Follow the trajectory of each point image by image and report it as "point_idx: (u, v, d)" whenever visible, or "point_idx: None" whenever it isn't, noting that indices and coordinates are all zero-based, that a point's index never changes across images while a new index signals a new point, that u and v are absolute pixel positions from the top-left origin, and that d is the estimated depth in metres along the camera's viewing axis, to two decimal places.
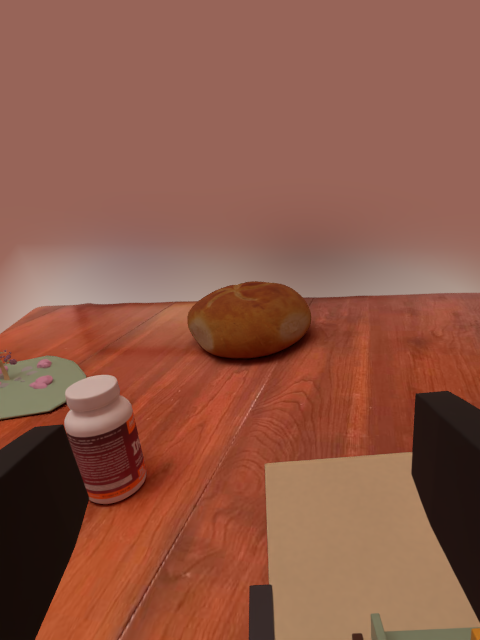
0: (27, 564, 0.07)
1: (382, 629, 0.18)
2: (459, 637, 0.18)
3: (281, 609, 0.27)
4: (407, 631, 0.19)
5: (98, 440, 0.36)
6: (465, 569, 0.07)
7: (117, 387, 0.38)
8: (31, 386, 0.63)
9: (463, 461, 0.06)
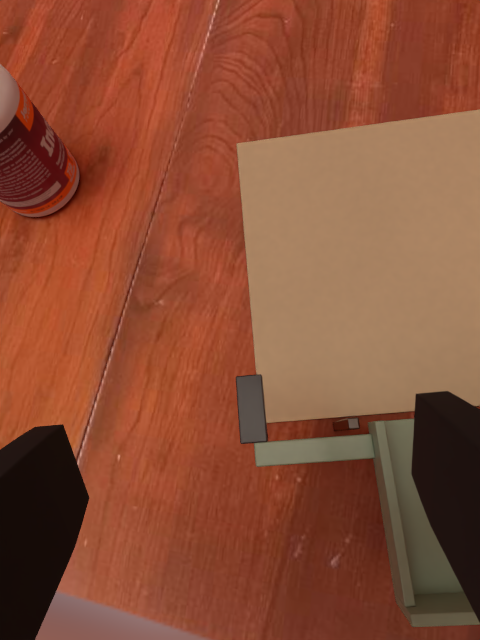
0: (27, 564, 0.07)
1: (386, 438, 0.16)
2: None
3: (264, 336, 0.26)
4: (407, 420, 0.18)
5: None
6: (465, 570, 0.07)
7: None
8: None
9: (463, 461, 0.06)
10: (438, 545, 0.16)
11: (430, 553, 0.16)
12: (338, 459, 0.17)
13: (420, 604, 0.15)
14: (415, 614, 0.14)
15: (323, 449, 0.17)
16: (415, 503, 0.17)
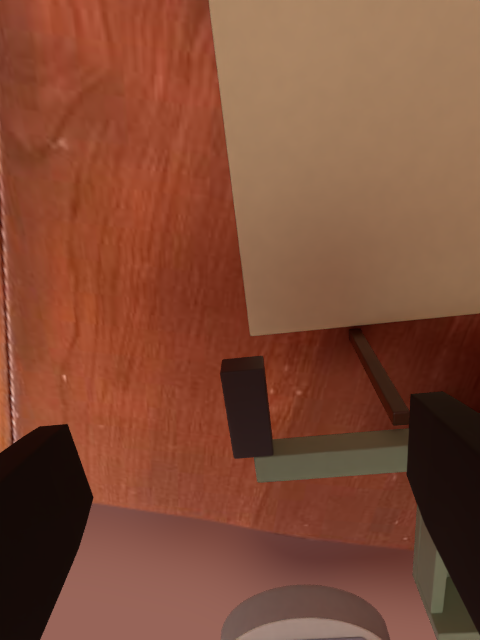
0: (32, 564, 0.07)
1: None
2: None
3: (254, 210, 0.15)
4: None
5: None
6: (459, 570, 0.07)
7: None
8: None
9: (456, 462, 0.06)
10: None
11: None
12: (374, 472, 0.12)
13: (447, 608, 0.13)
14: (444, 633, 0.13)
15: (354, 463, 0.12)
16: None
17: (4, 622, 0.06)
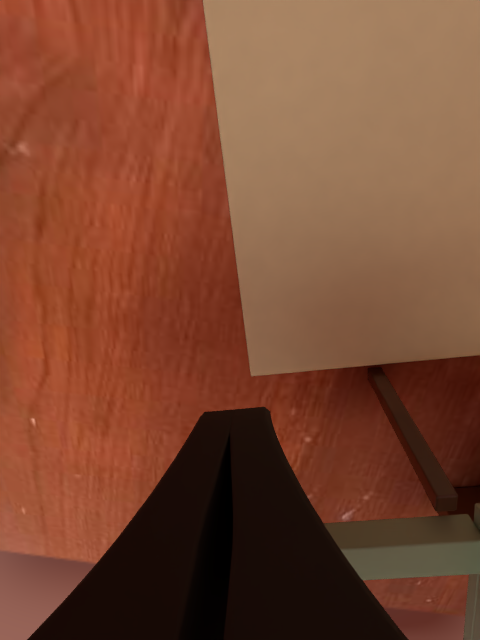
0: None
1: None
2: None
3: (255, 229, 0.13)
4: None
5: None
6: None
7: None
8: None
9: None
10: None
11: None
12: (413, 576, 0.09)
13: None
14: None
15: (386, 563, 0.09)
16: None
17: None
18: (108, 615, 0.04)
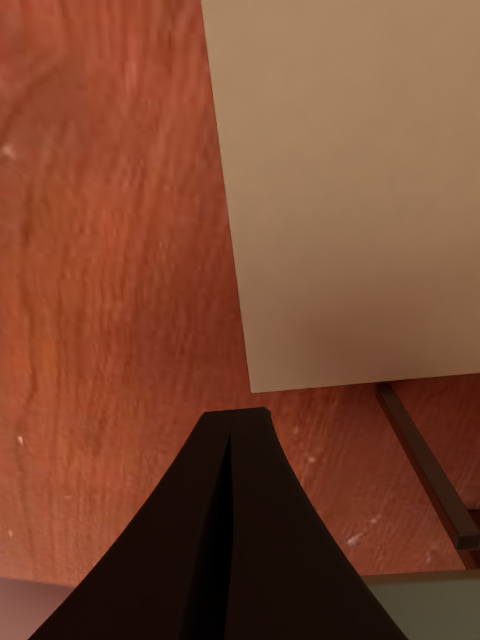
0: None
1: None
2: None
3: (256, 237, 0.12)
4: None
5: None
6: None
7: None
8: None
9: None
10: None
11: None
12: None
13: None
14: None
15: (412, 613, 0.08)
16: None
17: None
18: (108, 615, 0.04)
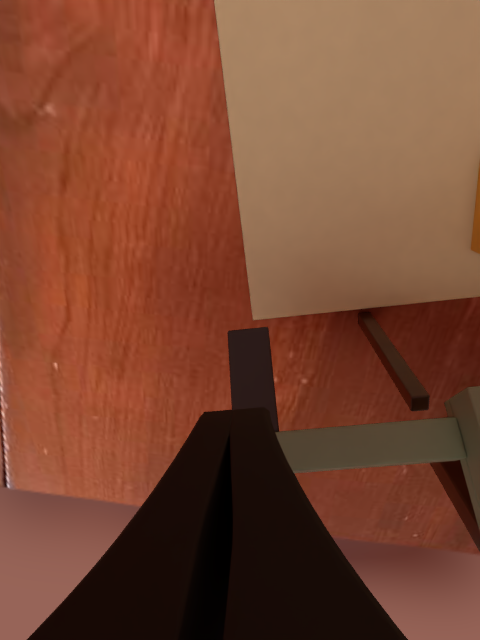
0: None
1: None
2: None
3: (257, 182, 0.14)
4: None
5: None
6: None
7: None
8: None
9: None
10: None
11: None
12: (402, 460, 0.10)
13: None
14: None
15: (374, 443, 0.10)
16: None
17: None
18: (108, 615, 0.04)
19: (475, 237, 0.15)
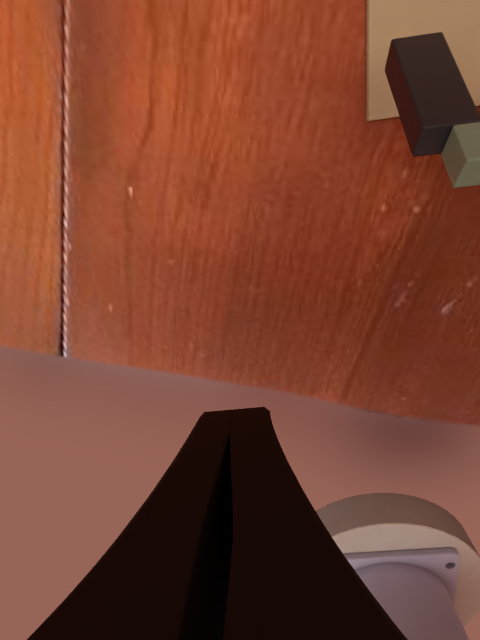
0: None
1: None
2: None
3: None
4: None
5: None
6: None
7: None
8: None
9: None
10: None
11: None
12: None
13: None
14: None
15: None
16: None
17: None
18: (108, 615, 0.04)
19: None
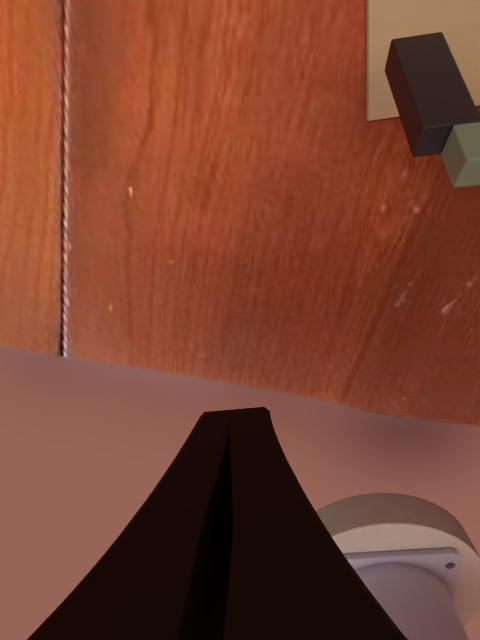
0: None
1: None
2: None
3: None
4: None
5: None
6: None
7: None
8: None
9: None
10: None
11: None
12: None
13: None
14: None
15: None
16: None
17: None
18: (108, 615, 0.04)
19: None
